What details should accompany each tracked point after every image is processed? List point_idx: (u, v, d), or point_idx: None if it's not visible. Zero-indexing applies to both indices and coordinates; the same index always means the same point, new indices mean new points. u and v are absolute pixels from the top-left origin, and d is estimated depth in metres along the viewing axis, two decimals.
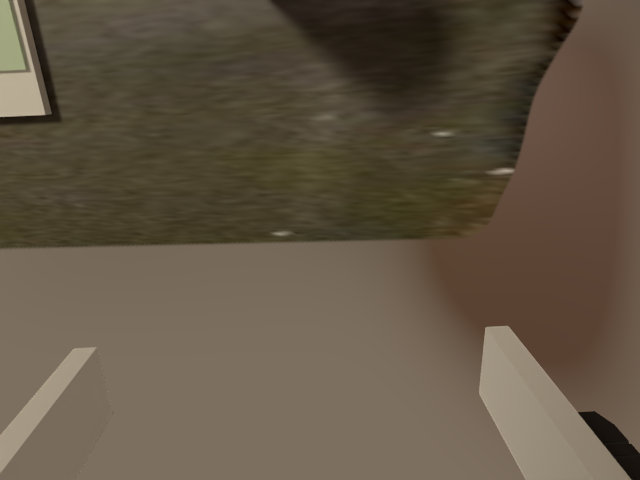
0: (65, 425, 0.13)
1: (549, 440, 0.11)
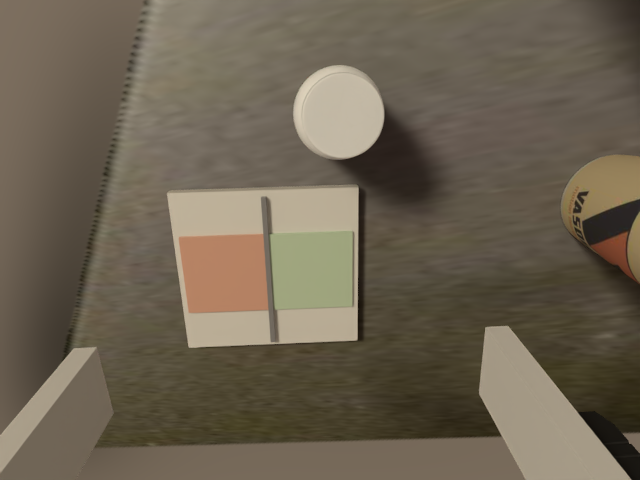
0: (65, 425, 0.13)
1: (549, 440, 0.11)
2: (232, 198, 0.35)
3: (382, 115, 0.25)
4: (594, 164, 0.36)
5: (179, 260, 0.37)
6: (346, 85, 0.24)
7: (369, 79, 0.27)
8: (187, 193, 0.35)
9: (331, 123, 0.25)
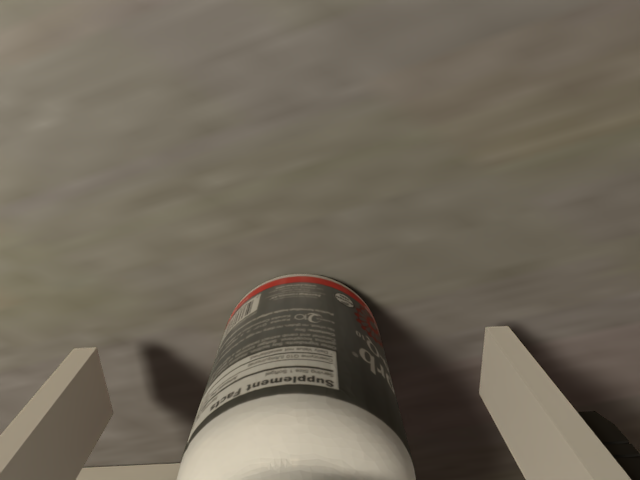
0: (65, 425, 0.13)
1: (549, 440, 0.11)
2: None
3: None
4: None
5: None
6: None
7: (377, 442, 0.09)
8: None
9: None
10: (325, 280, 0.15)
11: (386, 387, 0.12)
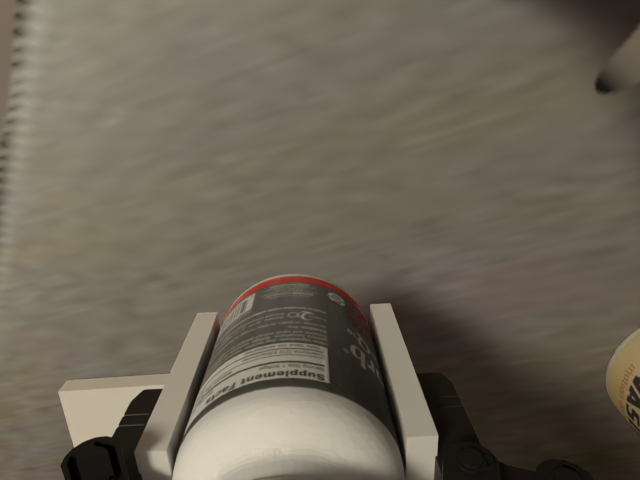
0: None
1: (390, 395, 0.13)
2: None
3: None
4: None
5: None
6: None
7: (366, 433, 0.10)
8: (87, 390, 0.25)
9: None
10: (318, 280, 0.16)
11: (376, 382, 0.12)
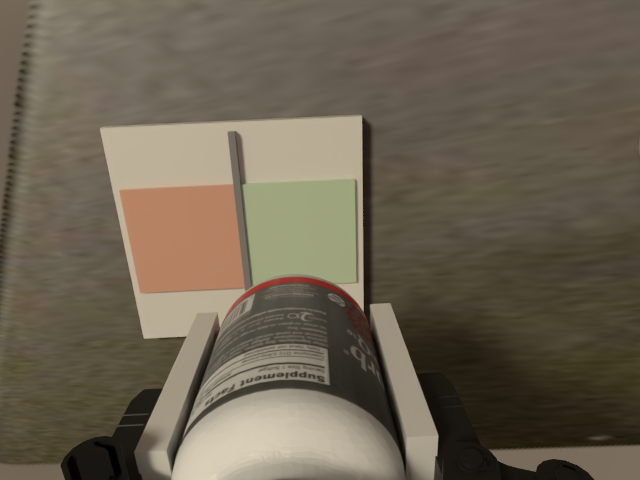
0: None
1: (390, 394, 0.13)
2: (189, 134, 0.26)
3: None
4: None
5: (123, 222, 0.27)
6: None
7: (366, 435, 0.10)
8: (127, 128, 0.26)
9: None
10: (318, 281, 0.16)
11: (376, 383, 0.12)
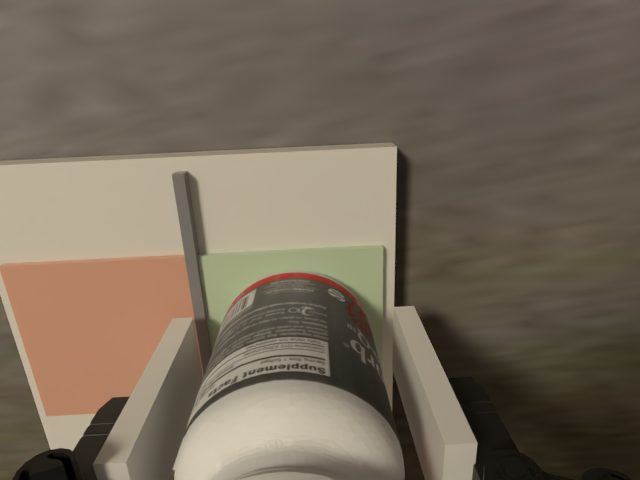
0: (178, 382, 0.14)
1: (421, 400, 0.13)
2: (110, 177, 0.15)
3: None
4: None
5: (12, 313, 0.17)
6: None
7: (366, 425, 0.10)
8: (5, 167, 0.15)
9: None
10: (318, 276, 0.16)
11: (376, 376, 0.12)
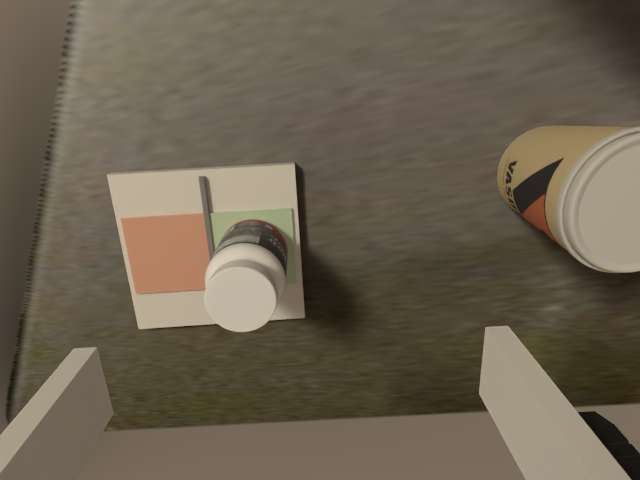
0: (65, 425, 0.13)
1: (549, 440, 0.11)
2: (171, 178, 0.36)
3: (274, 298, 0.29)
4: (525, 135, 0.36)
5: (123, 241, 0.38)
6: (240, 276, 0.28)
7: (268, 256, 0.30)
8: (127, 174, 0.36)
9: (230, 305, 0.29)
10: (262, 220, 0.36)
11: (278, 250, 0.33)
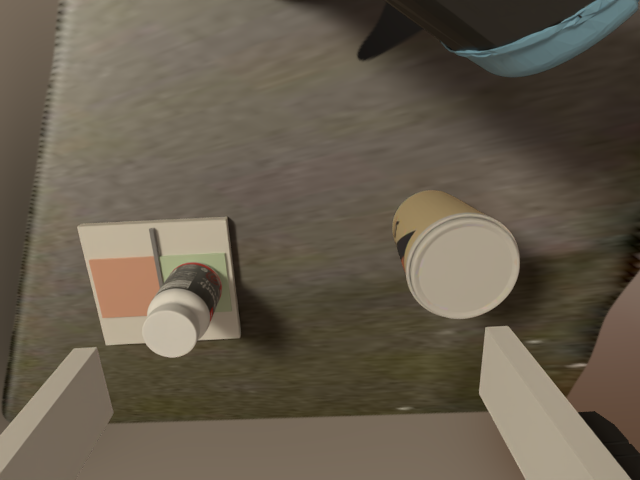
0: (65, 425, 0.13)
1: (549, 440, 0.11)
2: (128, 229, 0.45)
3: (194, 333, 0.38)
4: (411, 198, 0.45)
5: (91, 277, 0.47)
6: (168, 317, 0.38)
7: (194, 299, 0.40)
8: (92, 226, 0.45)
9: (162, 338, 0.38)
10: (200, 263, 0.46)
11: (206, 291, 0.42)
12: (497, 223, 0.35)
